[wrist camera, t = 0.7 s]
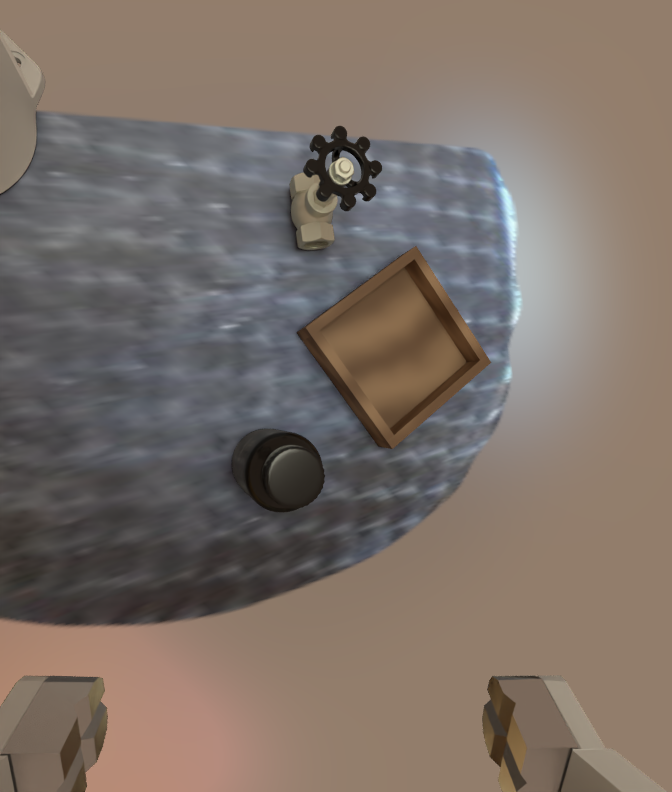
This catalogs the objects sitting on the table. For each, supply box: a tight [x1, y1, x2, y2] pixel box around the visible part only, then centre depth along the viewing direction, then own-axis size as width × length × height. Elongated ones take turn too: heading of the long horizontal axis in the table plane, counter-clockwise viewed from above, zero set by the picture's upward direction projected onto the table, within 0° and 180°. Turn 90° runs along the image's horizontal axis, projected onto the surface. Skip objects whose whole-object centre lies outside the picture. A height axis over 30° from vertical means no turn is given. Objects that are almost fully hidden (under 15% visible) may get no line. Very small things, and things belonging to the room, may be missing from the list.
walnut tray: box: [297, 246, 491, 449], centre depth 52 cm, size 15×15×4 cm
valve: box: [289, 126, 382, 250], centre depth 46 cm, size 7×7×12 cm
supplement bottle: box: [232, 429, 325, 512], centre depth 44 cm, size 7×7×12 cm
